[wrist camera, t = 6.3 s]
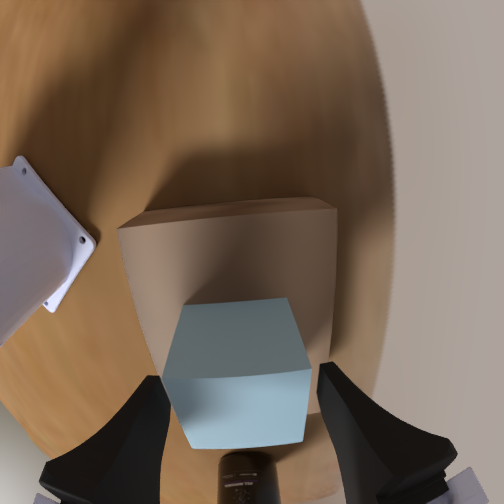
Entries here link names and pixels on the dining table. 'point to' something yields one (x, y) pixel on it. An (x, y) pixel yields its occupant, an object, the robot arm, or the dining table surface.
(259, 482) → the supplement bottle
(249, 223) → the walnut block
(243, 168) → the dining table surface
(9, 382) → the dining table surface
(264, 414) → the blue cube
